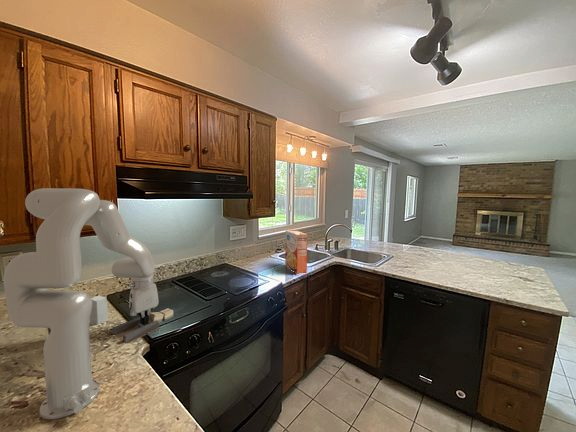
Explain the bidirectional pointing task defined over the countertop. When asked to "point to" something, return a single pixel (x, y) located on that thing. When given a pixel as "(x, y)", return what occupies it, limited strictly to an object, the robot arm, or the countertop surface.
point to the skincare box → (98, 310)
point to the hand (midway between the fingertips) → (144, 324)
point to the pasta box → (296, 251)
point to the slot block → (133, 330)
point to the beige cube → (167, 313)
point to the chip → (155, 317)
